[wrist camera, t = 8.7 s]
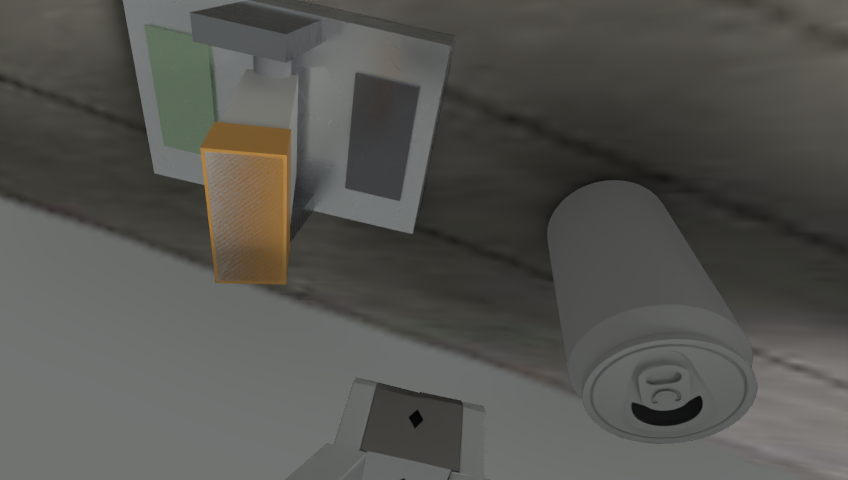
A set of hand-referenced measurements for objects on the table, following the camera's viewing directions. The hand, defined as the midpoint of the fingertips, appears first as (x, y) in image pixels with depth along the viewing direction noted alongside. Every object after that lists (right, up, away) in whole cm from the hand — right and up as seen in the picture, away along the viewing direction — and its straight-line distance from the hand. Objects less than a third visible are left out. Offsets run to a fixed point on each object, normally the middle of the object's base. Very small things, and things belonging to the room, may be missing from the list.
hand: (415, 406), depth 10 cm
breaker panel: (-7, +11, +14) cm, 19 cm away
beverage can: (+10, +5, +16) cm, 19 cm away
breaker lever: (-7, +9, +11) cm, 16 cm away
